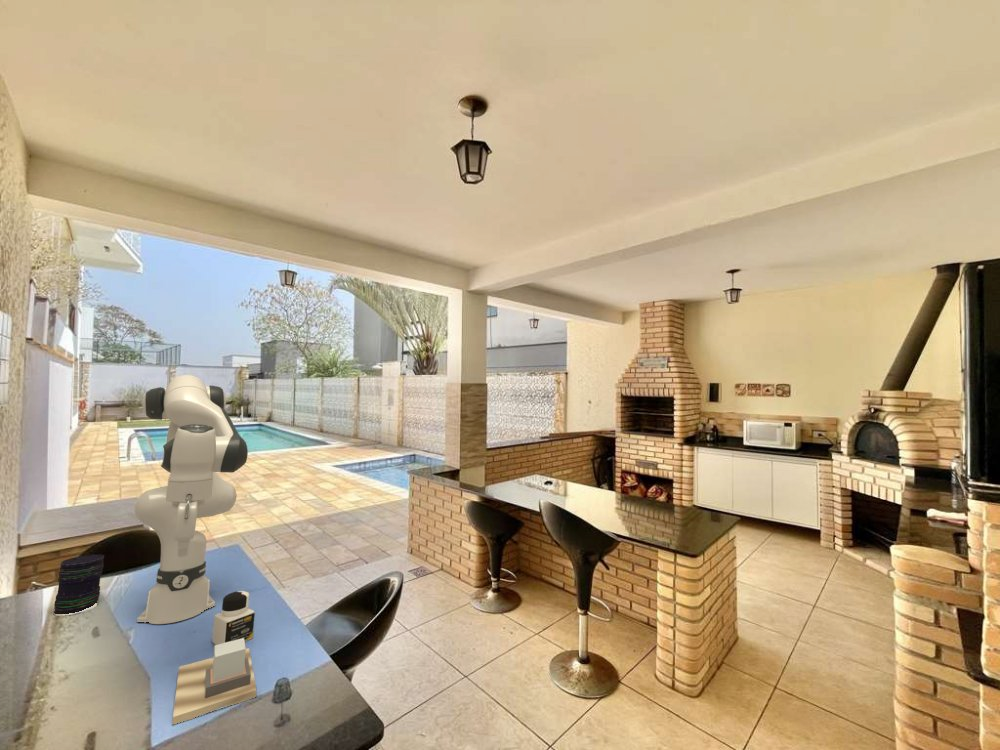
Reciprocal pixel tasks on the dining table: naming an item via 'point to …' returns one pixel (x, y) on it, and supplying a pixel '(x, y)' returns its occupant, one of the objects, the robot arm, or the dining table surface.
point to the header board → (196, 691)
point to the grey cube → (228, 659)
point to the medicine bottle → (234, 619)
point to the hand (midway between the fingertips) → (183, 550)
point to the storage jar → (78, 583)
